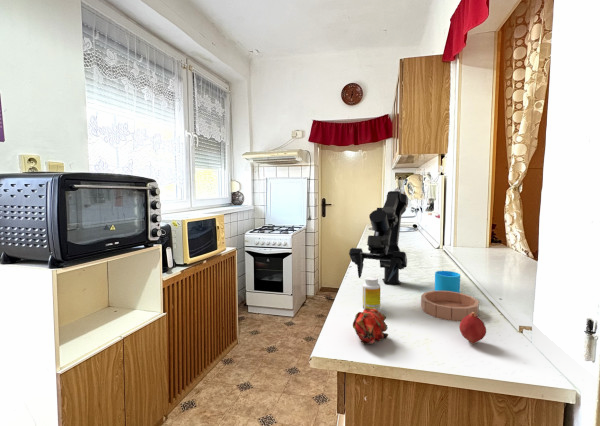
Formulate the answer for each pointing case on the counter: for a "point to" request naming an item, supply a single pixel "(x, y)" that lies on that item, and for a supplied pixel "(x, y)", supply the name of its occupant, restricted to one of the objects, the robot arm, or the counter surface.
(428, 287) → the counter surface
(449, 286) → the mug
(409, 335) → the counter surface
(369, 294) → the supplement bottle
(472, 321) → the onion
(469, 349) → the counter surface
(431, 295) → the bowl
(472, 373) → the counter surface
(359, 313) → the dragon fruit
